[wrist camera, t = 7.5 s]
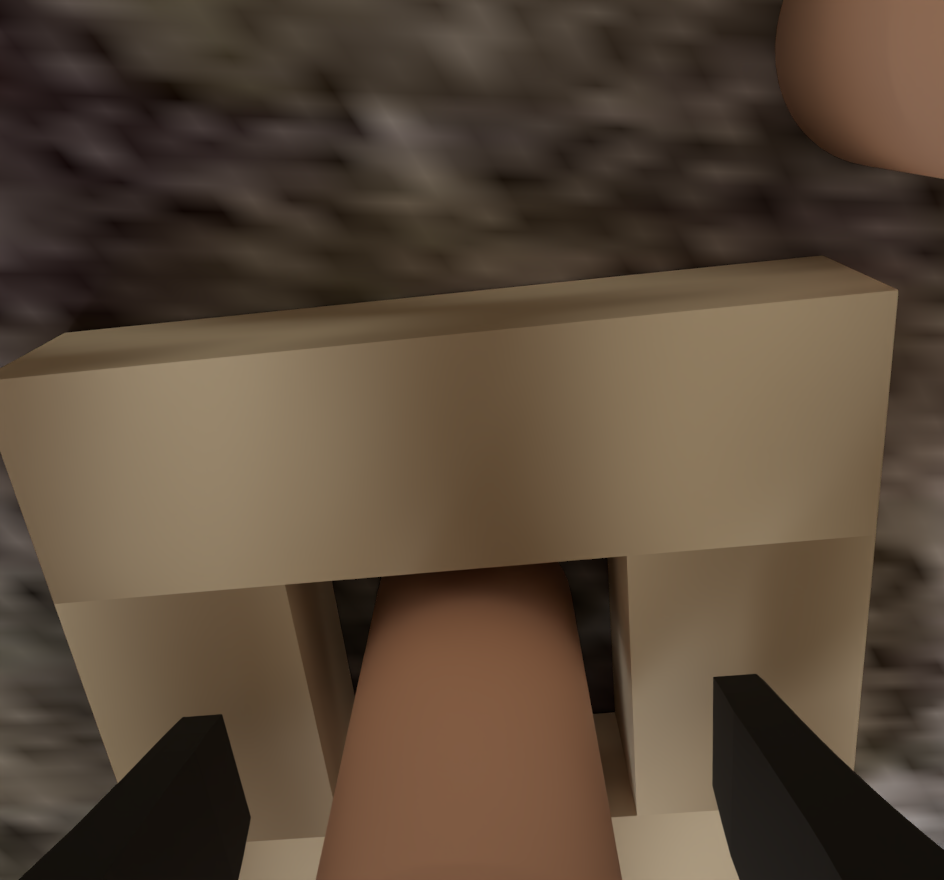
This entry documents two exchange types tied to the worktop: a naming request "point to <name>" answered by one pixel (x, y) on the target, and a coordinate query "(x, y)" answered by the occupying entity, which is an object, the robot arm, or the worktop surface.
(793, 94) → the short stub
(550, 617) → the long pin
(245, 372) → the collar block
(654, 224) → the worktop surface
